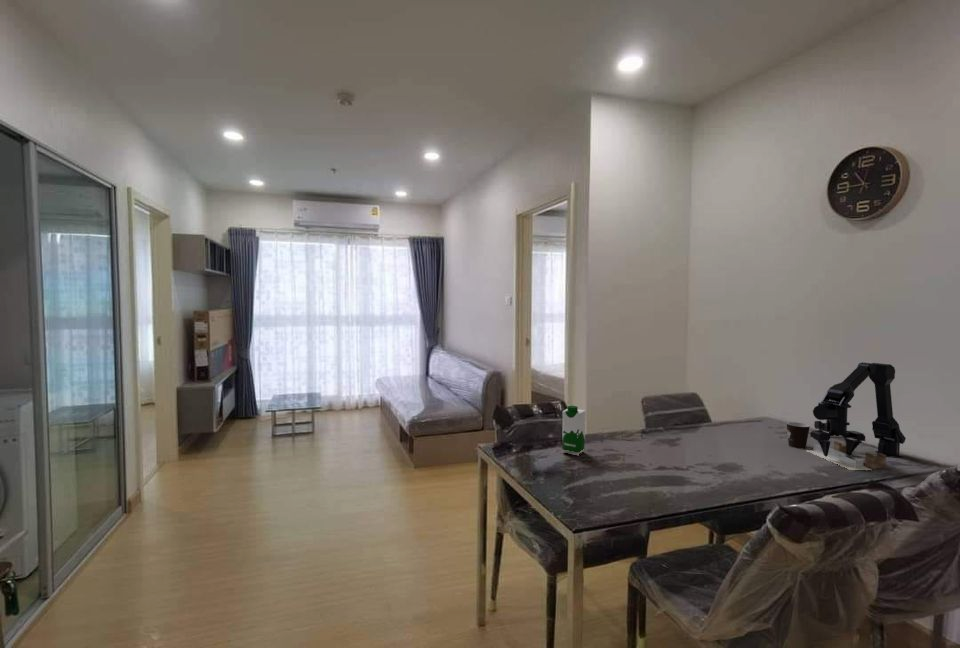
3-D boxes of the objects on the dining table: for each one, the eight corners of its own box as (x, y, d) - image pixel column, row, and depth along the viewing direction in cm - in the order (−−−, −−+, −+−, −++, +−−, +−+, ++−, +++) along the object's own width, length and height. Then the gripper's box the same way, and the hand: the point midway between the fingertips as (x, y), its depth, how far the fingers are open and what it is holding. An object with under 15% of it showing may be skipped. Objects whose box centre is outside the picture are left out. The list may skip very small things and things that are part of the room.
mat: (823, 451, 200) (823, 450, 200) (871, 470, 176) (871, 469, 176) (805, 451, 200) (805, 450, 200) (850, 470, 176) (850, 469, 176)
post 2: (878, 465, 181) (879, 452, 181) (885, 468, 178) (886, 455, 178) (865, 465, 181) (865, 452, 181) (871, 468, 178) (872, 455, 178)
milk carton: (559, 453, 191) (560, 406, 190) (567, 448, 199) (568, 402, 198) (579, 457, 186) (580, 409, 186) (587, 452, 194) (588, 405, 193)
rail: (820, 450, 199) (820, 444, 199) (863, 468, 177) (863, 460, 177) (813, 450, 199) (813, 444, 199) (855, 468, 177) (855, 460, 177)
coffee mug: (808, 450, 200) (809, 427, 200) (785, 446, 206) (785, 424, 205) (809, 444, 210) (810, 422, 209) (786, 441, 215) (787, 419, 215)
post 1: (846, 453, 197) (846, 441, 197) (851, 455, 194) (852, 443, 194) (833, 453, 197) (833, 441, 197) (839, 455, 194) (839, 443, 194)
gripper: (844, 414, 195) (843, 450, 196) (801, 413, 195) (800, 450, 196) (867, 420, 184) (865, 459, 185) (821, 420, 184) (819, 458, 184)
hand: (836, 456), depth 188 cm, fingers open, 9 cm apart
